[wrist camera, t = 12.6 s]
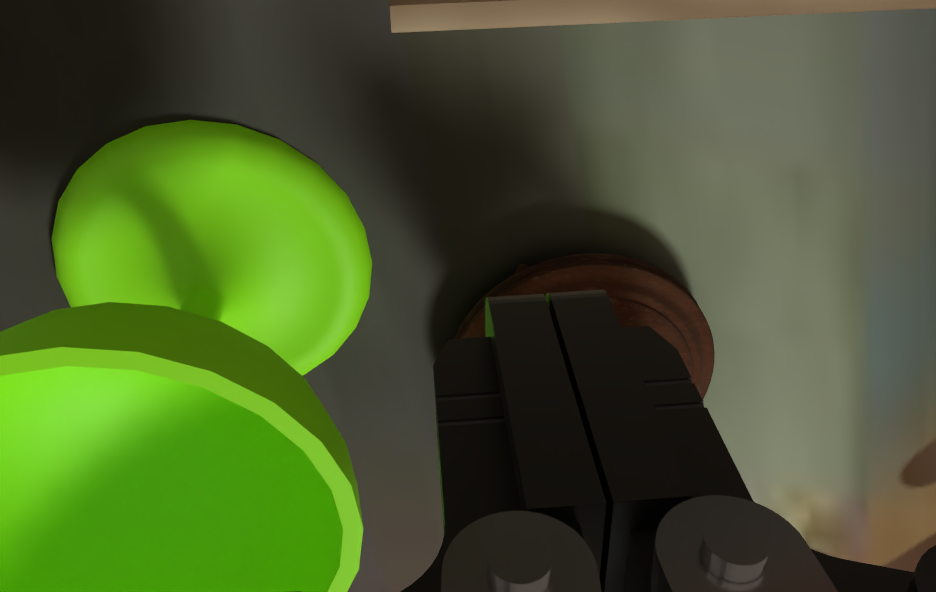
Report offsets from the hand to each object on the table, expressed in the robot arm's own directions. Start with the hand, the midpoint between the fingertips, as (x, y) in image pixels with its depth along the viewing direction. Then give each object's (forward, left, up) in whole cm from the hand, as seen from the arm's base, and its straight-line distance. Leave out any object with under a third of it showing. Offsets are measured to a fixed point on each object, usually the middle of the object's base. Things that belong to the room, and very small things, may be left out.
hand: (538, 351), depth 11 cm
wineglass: (+15, -12, -29) cm, 35 cm away
